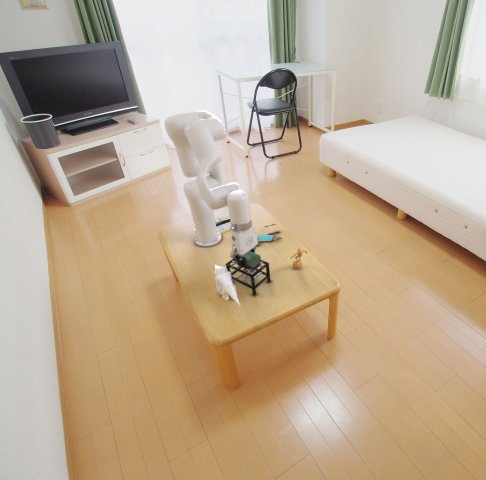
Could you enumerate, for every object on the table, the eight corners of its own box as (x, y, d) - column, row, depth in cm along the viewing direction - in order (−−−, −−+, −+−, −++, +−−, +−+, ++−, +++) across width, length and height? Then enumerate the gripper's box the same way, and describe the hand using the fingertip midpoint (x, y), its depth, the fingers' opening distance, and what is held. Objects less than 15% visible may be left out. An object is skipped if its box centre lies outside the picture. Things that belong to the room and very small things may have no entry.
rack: (229, 282, 140) (225, 263, 134) (245, 269, 147) (242, 251, 141) (254, 295, 134) (252, 276, 128) (270, 281, 141) (268, 262, 135)
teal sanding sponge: (261, 265, 134) (260, 255, 131) (253, 271, 130) (252, 261, 128) (241, 255, 138) (239, 246, 135) (233, 261, 135) (231, 251, 132)
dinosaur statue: (226, 276, 143) (222, 255, 136) (250, 311, 127) (247, 290, 120) (210, 282, 140) (205, 261, 133) (233, 319, 124) (228, 297, 117)
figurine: (303, 262, 151) (302, 240, 144) (310, 269, 147) (310, 247, 140) (286, 268, 148) (285, 246, 141) (293, 276, 144) (292, 253, 137)
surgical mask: (277, 222, 170) (284, 232, 163) (277, 230, 173) (284, 239, 165) (237, 232, 162) (242, 243, 155) (238, 240, 165) (244, 250, 158)
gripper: (232, 237, 116) (238, 277, 126) (264, 216, 128) (268, 254, 138) (216, 231, 119) (224, 270, 130) (249, 210, 131) (254, 248, 142)
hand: (247, 261), depth 134 cm, fingers open, 5 cm apart
